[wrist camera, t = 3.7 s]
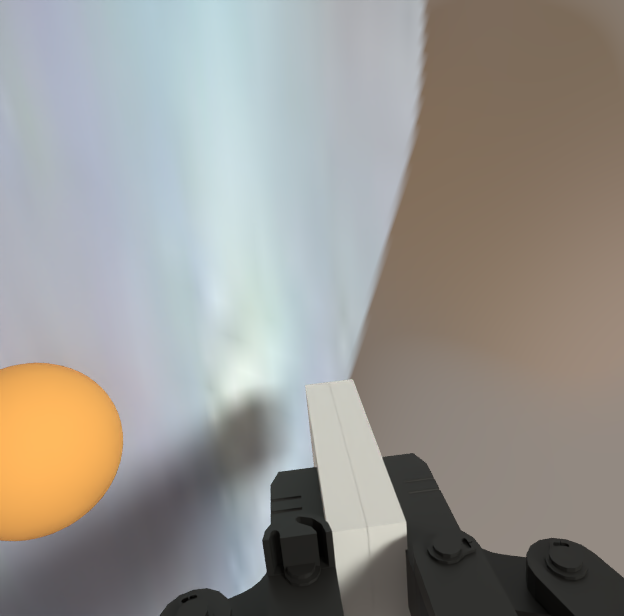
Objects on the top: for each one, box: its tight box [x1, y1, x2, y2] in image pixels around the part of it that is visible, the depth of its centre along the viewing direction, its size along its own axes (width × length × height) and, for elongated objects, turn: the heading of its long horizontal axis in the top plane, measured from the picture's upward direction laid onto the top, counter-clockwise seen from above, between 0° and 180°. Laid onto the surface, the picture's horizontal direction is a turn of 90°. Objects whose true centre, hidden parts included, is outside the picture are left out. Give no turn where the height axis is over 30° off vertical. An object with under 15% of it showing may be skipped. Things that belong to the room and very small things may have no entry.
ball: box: [0, 363, 123, 541], centre depth 17 cm, size 6×6×6 cm
